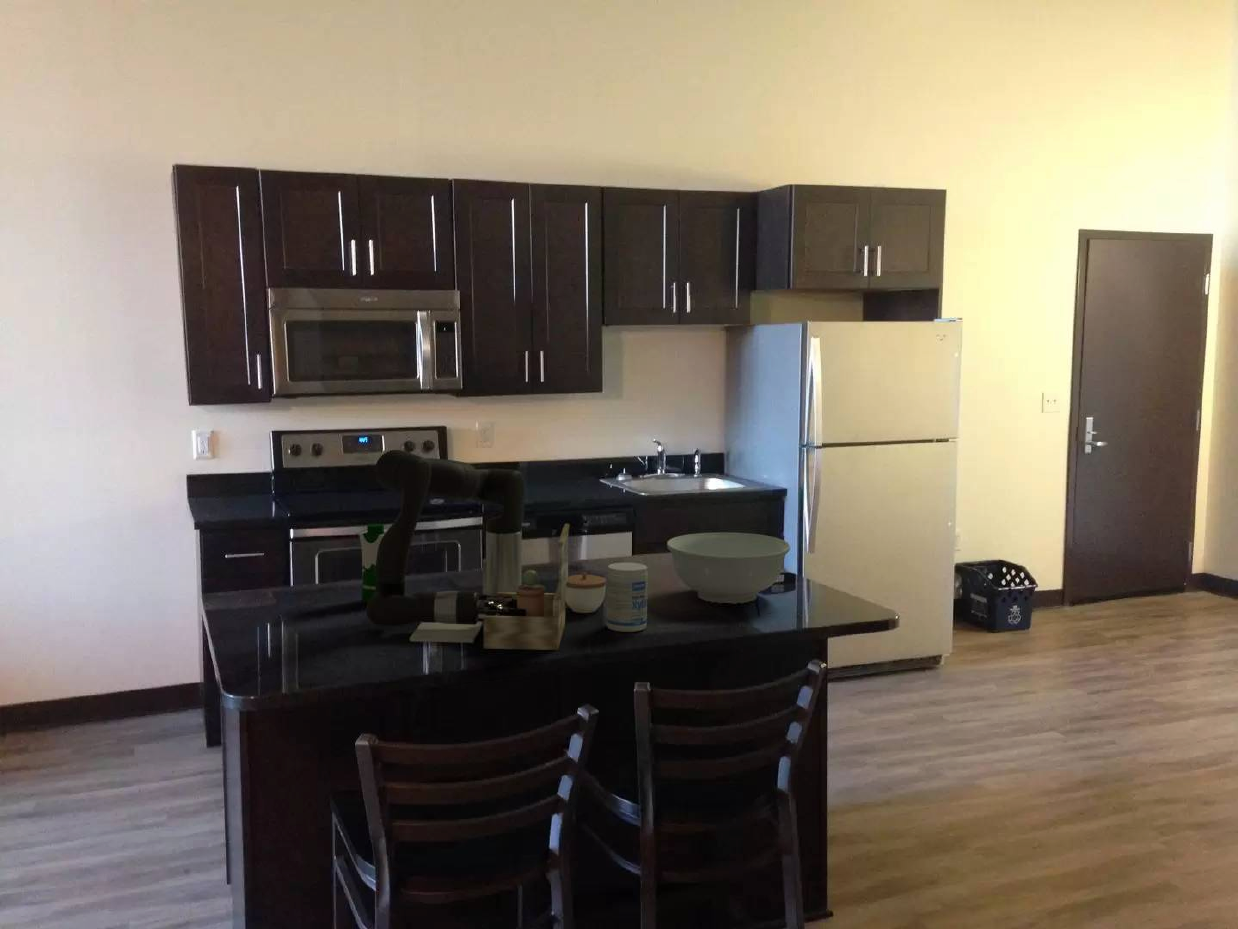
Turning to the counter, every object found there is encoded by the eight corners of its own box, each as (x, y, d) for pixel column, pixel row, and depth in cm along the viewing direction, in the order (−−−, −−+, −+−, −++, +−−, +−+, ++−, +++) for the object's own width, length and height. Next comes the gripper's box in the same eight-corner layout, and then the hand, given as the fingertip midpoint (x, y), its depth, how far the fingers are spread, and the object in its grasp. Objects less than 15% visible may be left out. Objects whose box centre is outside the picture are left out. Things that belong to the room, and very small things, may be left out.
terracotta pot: (509, 636, 240) (510, 571, 238) (526, 629, 246) (527, 565, 244) (533, 640, 237) (534, 574, 235) (550, 633, 242) (550, 569, 241)
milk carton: (356, 603, 267) (355, 525, 264) (378, 595, 275) (377, 519, 273) (384, 607, 263) (383, 528, 261) (406, 599, 271) (406, 522, 269)
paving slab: (409, 641, 235) (409, 637, 235) (422, 624, 249) (422, 620, 248) (472, 642, 234) (472, 639, 234) (482, 625, 248) (482, 622, 248)
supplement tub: (640, 635, 242) (641, 572, 241) (600, 631, 245) (601, 568, 243) (651, 624, 252) (652, 563, 250) (613, 620, 254) (614, 560, 253)
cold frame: (483, 648, 230) (483, 540, 227) (497, 620, 252) (497, 522, 250) (561, 650, 230) (562, 542, 227) (568, 622, 252) (569, 523, 249)
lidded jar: (600, 616, 258) (601, 579, 256) (557, 613, 260) (558, 576, 259) (609, 606, 268) (610, 569, 267) (568, 603, 270) (568, 567, 269)
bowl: (647, 604, 270) (648, 548, 268) (687, 578, 300) (689, 527, 298) (771, 619, 258) (773, 560, 256) (800, 590, 288) (802, 537, 286)
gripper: (451, 599, 233) (524, 600, 233) (462, 584, 247) (531, 585, 247) (451, 632, 234) (524, 634, 234) (462, 615, 248) (531, 616, 248)
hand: (527, 609), depth 240 cm, fingers open, 8 cm apart
